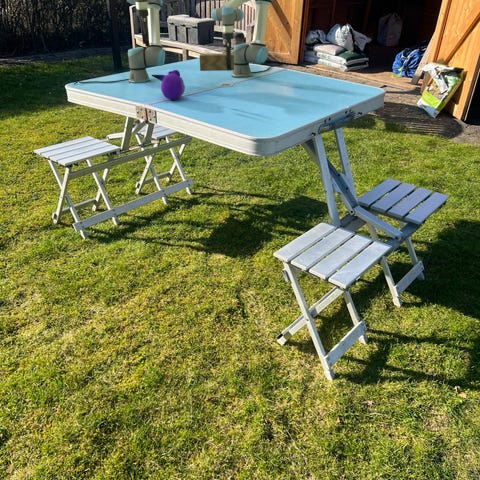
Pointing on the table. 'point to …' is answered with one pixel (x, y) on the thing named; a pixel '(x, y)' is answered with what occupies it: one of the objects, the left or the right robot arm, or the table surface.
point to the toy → (171, 85)
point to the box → (215, 62)
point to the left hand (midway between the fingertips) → (146, 45)
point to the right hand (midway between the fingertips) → (229, 68)
